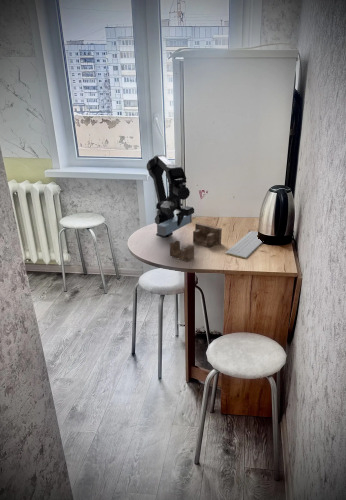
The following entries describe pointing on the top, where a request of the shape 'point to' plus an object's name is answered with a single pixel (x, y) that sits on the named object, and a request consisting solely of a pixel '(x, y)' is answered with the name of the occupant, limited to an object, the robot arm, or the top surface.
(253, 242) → the baseboard molding
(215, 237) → the headboard posts
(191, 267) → the top surface
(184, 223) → the bed rail
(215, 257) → the top surface
